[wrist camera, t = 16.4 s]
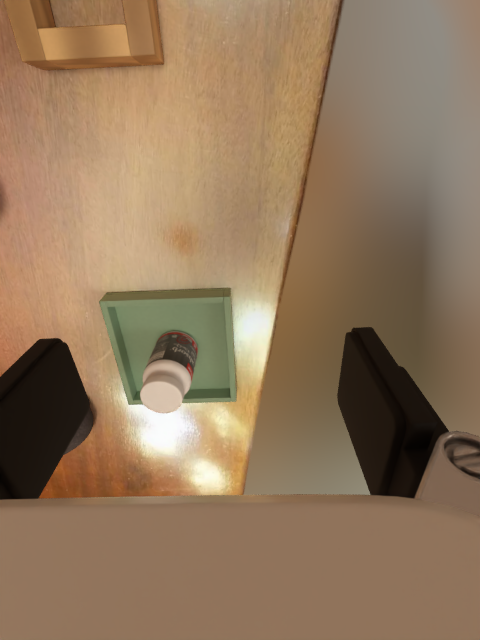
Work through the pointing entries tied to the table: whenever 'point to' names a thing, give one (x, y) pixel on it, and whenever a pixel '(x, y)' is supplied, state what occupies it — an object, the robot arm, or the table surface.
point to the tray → (174, 315)
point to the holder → (86, 37)
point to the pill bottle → (169, 372)
